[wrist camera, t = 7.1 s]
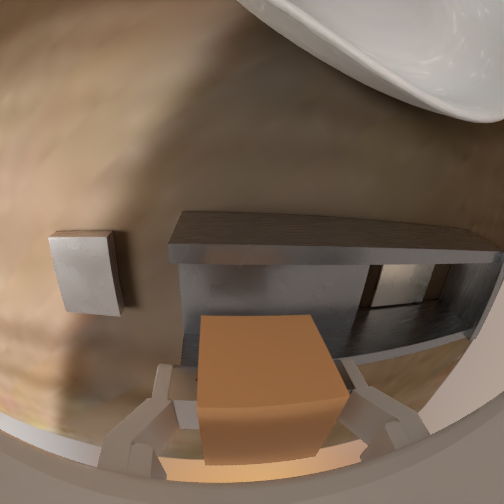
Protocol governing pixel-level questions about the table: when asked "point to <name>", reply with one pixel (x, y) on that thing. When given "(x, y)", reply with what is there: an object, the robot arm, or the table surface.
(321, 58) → the serving bowl
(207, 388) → the block
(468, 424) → the robot arm
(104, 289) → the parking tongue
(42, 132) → the table surface
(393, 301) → the rail
